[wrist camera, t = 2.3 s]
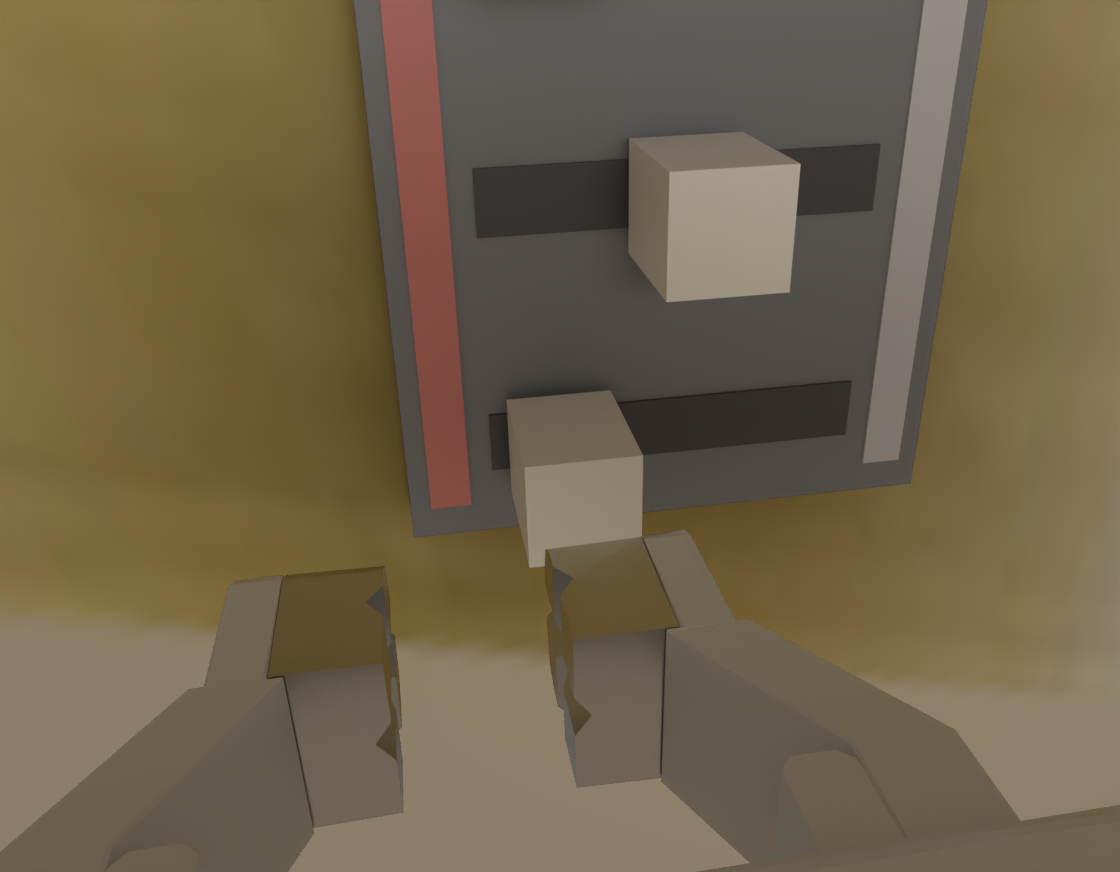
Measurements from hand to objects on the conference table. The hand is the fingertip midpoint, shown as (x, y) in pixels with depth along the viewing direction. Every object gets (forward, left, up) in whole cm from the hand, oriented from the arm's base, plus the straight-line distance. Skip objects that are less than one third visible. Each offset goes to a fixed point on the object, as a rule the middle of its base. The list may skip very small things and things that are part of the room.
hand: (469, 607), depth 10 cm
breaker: (-4, +7, -17) cm, 18 cm away
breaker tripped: (-7, 0, -17) cm, 18 cm away
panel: (-7, 0, -19) cm, 20 cm away
